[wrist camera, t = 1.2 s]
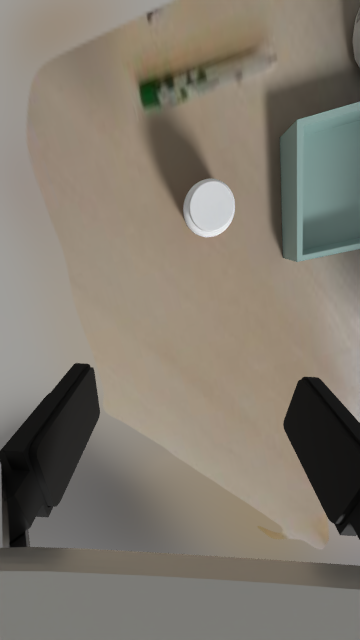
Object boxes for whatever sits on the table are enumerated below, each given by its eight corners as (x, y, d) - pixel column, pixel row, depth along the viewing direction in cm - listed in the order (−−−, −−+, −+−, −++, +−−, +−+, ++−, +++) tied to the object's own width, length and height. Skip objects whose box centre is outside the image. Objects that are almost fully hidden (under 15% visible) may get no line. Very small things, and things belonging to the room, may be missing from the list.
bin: (411, 100, 21) (458, 72, 18) (389, 234, 26) (422, 235, 23) (279, 137, 23) (297, 119, 19) (282, 257, 28) (297, 261, 24)
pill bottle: (184, 189, 25) (182, 170, 17) (227, 188, 25) (245, 168, 17) (184, 236, 27) (182, 238, 19) (223, 235, 27) (238, 238, 19)
